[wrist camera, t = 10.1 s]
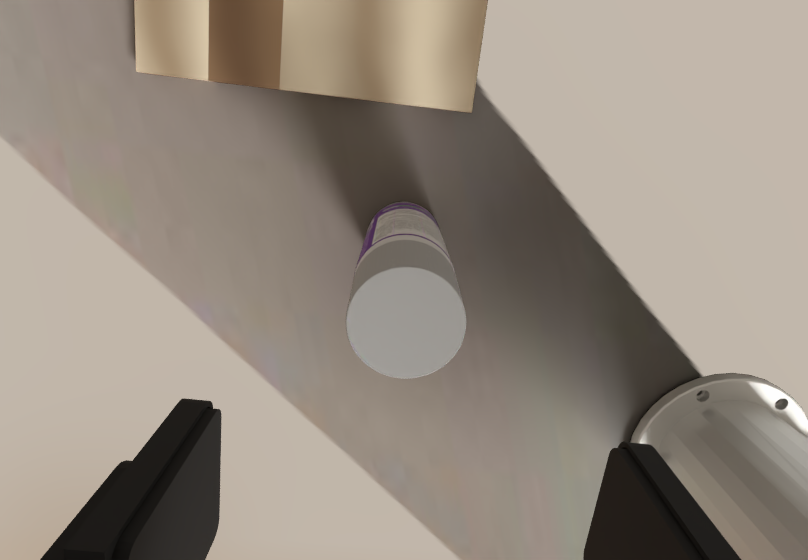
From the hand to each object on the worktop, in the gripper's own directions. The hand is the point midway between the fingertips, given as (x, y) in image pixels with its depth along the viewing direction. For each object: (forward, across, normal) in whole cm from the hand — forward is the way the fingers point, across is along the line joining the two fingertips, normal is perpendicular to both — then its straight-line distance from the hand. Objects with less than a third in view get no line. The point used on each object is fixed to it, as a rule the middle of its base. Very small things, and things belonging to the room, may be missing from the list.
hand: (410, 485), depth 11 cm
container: (+24, 0, 0) cm, 24 cm away
